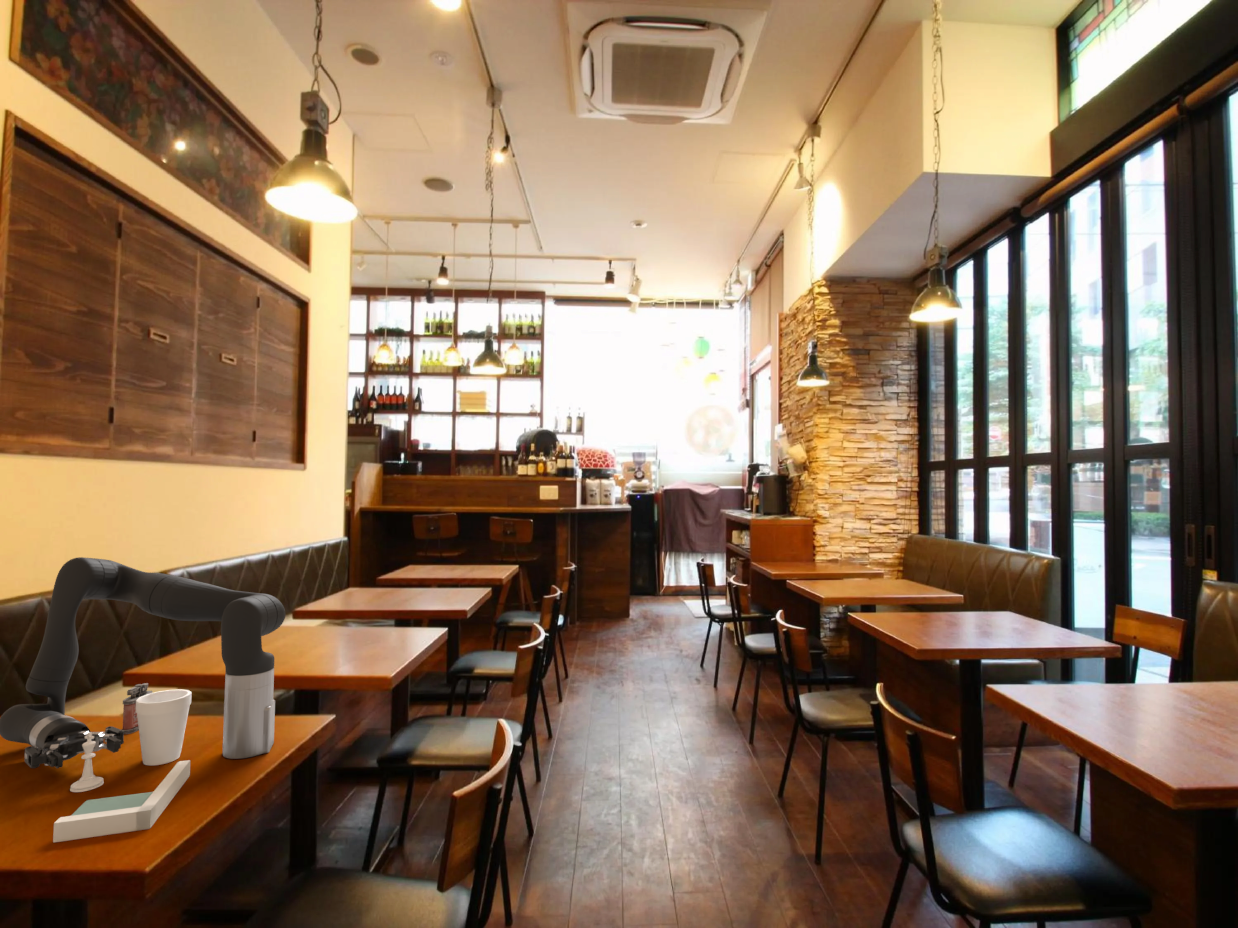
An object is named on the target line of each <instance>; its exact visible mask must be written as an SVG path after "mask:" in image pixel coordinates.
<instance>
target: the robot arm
mask: <svg viewBox="0 0 1238 928" xmlns="http://www.w3.org/2000/svg"><path fill="white" fill-rule="evenodd" d="M52 589H53V590H52V593H51V600H50V605H49V609H48V614H47V617H46V618H47V619H46V623H45V628H44V634H43V638H42V642H41V645H40V648H39V651H38V654H37V656H36V659H35V661H34V663H33V665H32V668H31V671H30V673H29V676H28V678H27V680H26V684H25V690H26V691H27V692H28V693H31V694H34V695H39V696H43V697H47V702H46V703H19V704H15V705H12V706H11V707H9V708H8V709H6V710H5V711H4V712H3V713H2V714H1V716H0V737H1V738H2V739H4V740H6V741H9V742H12V743H13V742H14V743H19V744H27V745H28V746H27V747H24V760H23V761H24V763H25V764H26V765H27V766H28V767H29V768H30V769H36V768H39V767H40V765H43V764H44V766H45V767H46V766H49V767H51V768H56V769H61V768H63V766H64V761H67V760H70V759H72V758H74V757H76V756H78V755H79V754H83V753H85V752H84V749H83V747H82V744H83V743H85V742H87V739H85V736H86V735H88V733H89V732H92V736H94V739H91V741H95V742H96V744H95V746H94V749H93V751H92V753H95V752H99V751H100V750H105V749H106V750H107V751H110V753H117V752H119V751H120V750H119V749H121V748H122V747H121V745H123V744H124V742H125V741H124V738H125V736H124V735H125V734H124V731H123V730H122V729H120V728H117V727H115V726H113V725H112V726H111V725H110V726H107V727H105V730H104V731H91V730H90V727H88V726H87V725H86V723H84V722H82V721H80V720H78V719H76V718H74V717H73V716H70V715H67V714H66V711H65V710H66V698H67V697H66V695H67V689H68V685H69V682H70V679H71V678H72V674H73V672H74V669H75V666H76V664H77V661H78V657H79V650H80V649H79V641H78V636H77V629H76V617H77V614H78V610H79V608H80V606H81V603H82V602H83V600H108V601H109V600H112V601H118V602H119V601H120V602H126V603H129V604H130V603H131V604H134V605H135V606H137V607H138V608H139V609H141V610H142V611H143V612H145V613H148V614H150V615H153V616H155V617H161V618H165V619H170V620H175V621H183V622H220V623H221V624H220V637H221V638H220V639H221V641H220V643H221V645H220V646H221V658H222V659H221V660H222V661H223V664H224V666H225V677H224V679H225V680H224V681H225V682H224V701H223V702H224V703H223V731H222V732H223V733H222V756H223V757H224V758H226V759H230V760H233V759H234V760H235V759H236V760H237V759H239V760H240V759H247V758H252V757H255V756H260V755H262V754H268V753H270V751H271V749H272V747H273V745H274V743H275V717H276V716H275V714H276V700H275V699H274V689H275V687H274V684H275V682H274V681H275V656H274V653H271V652H267V651H264V650H263V646H262V643H263V642H262V637H264V636H267V635H269V634H271V633H274V632H275V631H276V630H277V629H279V628H280V627H281V626H282V625H283V623H284V621H285V619H286V609H285V607H284V605H283V603H282V602H281V601H280V600H279V598H277V597H276V596H273V595H271V594H268V593H262V592H261V593H259V592H253V591H252V592H251V591H250V592H249V591H244V590H243V591H241V590H233V589H229V588H225V587H222V586H218V585H214V584H211V583H208V582H202V581H198V580H194V579H190V578H186V577H182V576H177V575H173V574H168V573H161V572H160V573H159V572H146V571H142V570H138V569H136V568H133V567H130V566H127V565H125V564H122V563H120V562H117V561H113V560H110V559H104V558H93V557H83V556H81V557H74V558H72V559H71V558H70V559H69V560H67V561H66V562H65V563H64V564H63V565H62V566H61V568H60V569H59V571H58V572H57V576H56V578H55V582H54V586H53V588H52Z"/></svg>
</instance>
